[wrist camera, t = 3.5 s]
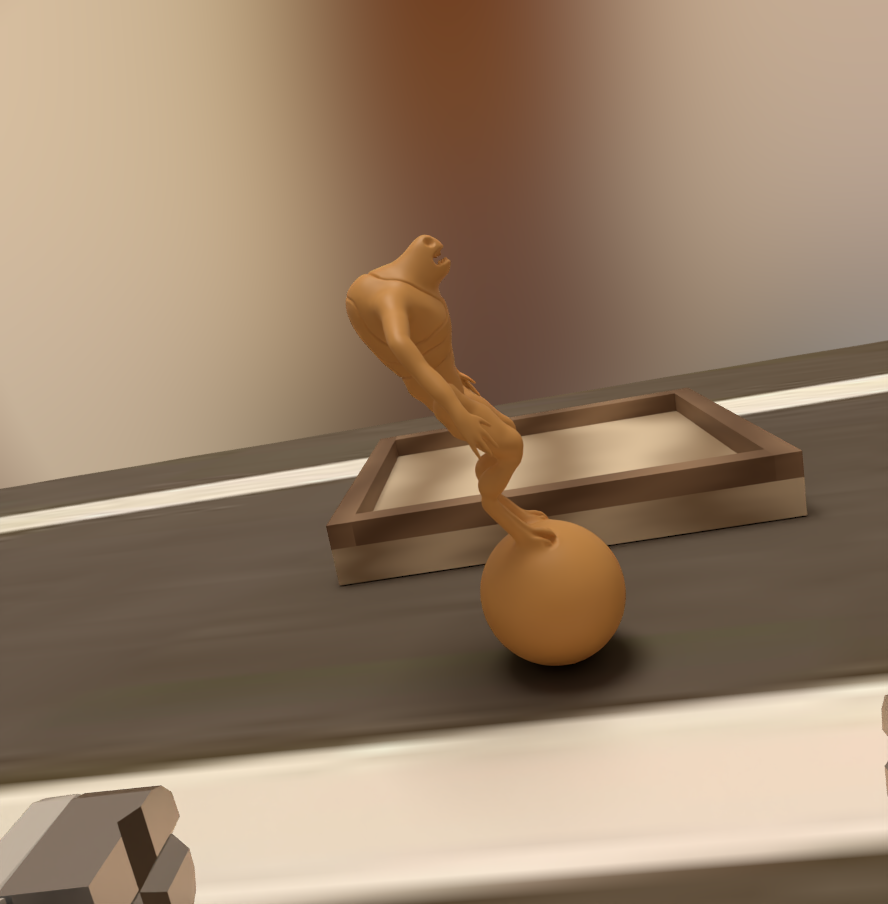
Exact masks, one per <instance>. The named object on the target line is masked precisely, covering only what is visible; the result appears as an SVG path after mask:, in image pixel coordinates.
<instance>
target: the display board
mask: <svg viewBox="0 0 888 904" xmlns="http://www.w3.org/2000/svg"><path fill="white" fill-rule="evenodd" d="M510 419H511V420H512V421H513V422H514V424H515V426H516V431H517V432H518V433H519V434H520V435H521V437H522V439H523V444H524V448H523V457H522V460H521V463H520V464H519V466H518V467H517V468H516V470H515V471H514V473H513V475H512V477H511V479H510V481H509V483H508V484H507V486H506V488H505V489H504V491H503V492H502V494H503V495H504V496H505V497H507V498H508V499H509V500H511V501H512V502H513V503H515V504H516V505H517V506H519V507H520V508H522V509H524V510H537V511H541V512H543V513H544V514H545V515H546V516H547V517H548V519H552V520H561V521H567V522H571V523H574V524H577V525H579V526H582V527H584V528H586V529H588V530H589V531H591V532H592V533H594V534H595V535H597V536H598V537H599V538H600V539H601V540H602V541H603V542H604V543H605V544H606V545H612V544H619V543H625V542H632V541H639V540H645V539H652V538H659V537H665V536H672V535H679V534H685V533H692V532H699V531H705V530H712V529H719V528H725V527H732V526H738V525H745V524H752V523H758V522H765V521H772V520H778V519H785V518H792V517H798V516H805V515H807V507H806V494H805V481H804V469H803V456H802V451H801V450H800V449H798V448H796V447H794V446H792V445H791V444H789V443H787V442H785V441H783V440H781V439H780V438H778V437H776V436H774V435H772V434H771V433H769V432H767V431H765V430H763V429H762V428H760V427H758V426H756V425H754V424H753V423H751V422H749V421H747V420H745V419H743V418H742V417H740V416H738V415H736V414H734V413H733V412H731V411H729V410H727V409H725V408H724V407H722V406H720V405H718V404H716V403H714V402H713V401H711V400H709V399H707V398H705V397H704V396H702V395H700V394H698V393H696V392H695V391H693V390H691V389H689V388H684V389H678V390H672V391H666V392H660V393H654V394H648V395H642V396H636V397H630V398H624V399H618V400H612V401H606V402H600V403H594V404H588V405H582V406H576V407H570V408H564V409H558V410H552V411H546V412H540V413H534V414H528V415H522V416H516V417H510ZM477 450H478V452H479V454H480V456H482V455H483V454H485V453H484V452H482V451H481V450H479V449H478V448H477ZM478 460H479V459H478V457H477V456H476V455H475V453H474V452H473V451H472V449H471V447H470V446H469V444H468V443H467V442H466V441H463V440H459V439H457V438H455V437H454V436H453V435H452V434H451V433H450V432H449V431H448V429H447V428H444V429H438V430H432V431H426V432H420V433H414V434H408V435H403V436H397V437H391V438H385V439H380V441H379V443H378V444H377V446H376V447H375V449H374V451H373V452H372V454H371V455H370V457H369V458H368V460H367V462H366V463H365V465H364V466H363V468H362V470H361V471H360V473H359V474H358V476H357V478H356V479H355V481H354V482H353V484H352V486H351V487H350V489H349V490H348V492H347V494H346V495H345V497H344V498H343V500H342V501H341V503H340V505H339V506H338V508H337V509H336V511H335V513H334V514H333V516H332V517H331V519H330V521H329V522H328V524H327V525H326V528H327V532H328V537H329V541H330V546H331V550H332V554H333V559H334V563H335V568H336V572H337V577H338V581H339V585H346V584H353V583H359V582H366V581H373V580H379V579H386V578H393V577H399V576H406V575H413V574H419V573H426V572H433V571H439V570H446V569H452V568H459V567H466V566H472V565H479V564H486V562H487V560H488V558H489V556H490V554H491V553H492V551H493V550H494V548H495V547H496V546H497V544H498V543H499V542H500V541H501V540H502V539H503V538H504V537H505V536H507V535H508V533H507V532H506V531H505V530H504V529H503V528H502V527H501V526H500V525H499V524H498V523H497V522H496V521H495V520H494V519H493V518H492V517H491V516H490V515H489V514H488V513H487V512H486V511H485V510H484V509H483V507H482V503H481V499H482V496H481V494H480V492H479V489H478V479H477V477H476V474H475V466H476V463H477V461H478Z"/></svg>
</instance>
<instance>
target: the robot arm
mask: <svg viewBox="0 0 888 904" xmlns="http://www.w3.org/2000/svg"><path fill="white" fill-rule="evenodd" d="M882 730H883V731H884V732H885V733H886V735H887V736H888V695H885V697H884V701H883V705H882ZM885 776H886V786H887V795H888V762H887V764H886V765H885ZM179 817H180V815H179V812H178V809H177V806H176V804H175V801H174V798H173V795H172V792H171V791H169V790H168V789H166V788H165V787H163V786H151V787H141V788H132V789H122V790H113V791H103V792H93V793H85V794H82V795H81V794H73V795H66V796H59V797H51V798H45V799H43V800H40V801H37V802H34V803H32V804H31V805H30V807H29V808H28V809H27V810H26V811H25V812H24V813H23V815H22V816H21V817H20V818H19V819H18V820H17V822H16V823H15V824H14V825H13V826H12V827H11V828H10V830H9V831H8V832H7V833H6V834H5V835H4V837H3V838H2V839H1V840H0V904H194V899H195V893H196V881H195V868H194V864H193V860H192V857H191V853H190V849H189V848H188V847H187V846H186V845H184V844H183V843H182V842H181V841H180V840H179V839H178V838H176V837H175V836H174V835H173V834H172V833H173V830H174V828H175V826H176V823H177V821H178V819H179Z"/></svg>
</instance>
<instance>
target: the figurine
mask: <svg viewBox="0 0 888 904" xmlns="http://www.w3.org/2000/svg"><path fill="white" fill-rule="evenodd" d="M442 248H443V245H442V244H441V243H440V242H439V241H438V240H437V239H435V238H433V237H431V236H428V235H421V236H419V237H418V238H417V239H415V241H413V242H412V244H411V245H410V246H409V247H408V248H407V250H406V251H405V252H404V253H403V254H402V255H401V256H400V257H399V258H397V259H396V260H395V261H394V262H392V263H390V264H387V265H384V266H382V267H379V268H377V269H375V270H372V271H370V272H369V274H363V275H361V276H360V277H359V278H357V279H356V280H355V281H354V283H353V284H352V285H351V287H350V288H349V290H348V292H347V298H346V309H347V314H348V317H349V319H350V322H351V324H352V326H353V328H354V329H355V331H356V333H357V334H358V335H359V337H360V338H361V339H362V341H363V342H364V343H365V344H366V345H367V347H368V348H369V349H370V350H371V351H372V352H373V353H374V354H375V355H376V356H377V357H378V358H379V359H380V361H381V362H382V363H383V364H384V365H385V366H387V367H388V368H389V369H390V370H391V371H393V372H394V373H396V374H397V375H398V376H399V377H402V380H403V381H404V383H405V385H406V387H407V389H408V391H409V393H410V394H411V395H412V396H413V397H414V398H416V399H417V400H419V401H421V402H423V403H424V404H425V405H426V406H427V407H428V408H429V409H430V410H431V411H432V412H434V414H435V416H436V418H437V419H438V420H439V421H440V422H441V423H442V424H443V425H444V426H445V427H446V428H447V429H448V431H449V432H450V433H451V434H452V435H453V436H454V437H455V438H457V439H459V440H463V441H466V442H467V443H468V444H469V446H470V447H471V449H472V451H473V452H474V453H475V455H476V456H477V457H478V459H479V460H478V461H477V463H476V466H475V474H476V477H477V479H478V489H479V492H480V494H481V496H482V499H481V503H482V507H483V509H484V510H485V511H486V512H487V513H488V514H489V515H490V516H491V517H492V518H493V519H494V520H495V521H496V522H497V523H498V524H499V525H500V526H501V527H502V528H503V529H504V530H505V531H506V532H507V533H508V535H507V536H505V537H504V538H503V539H502V540H501V541H500V542H499V543H498V544H497V546H496V547H495V548H494V550H493V551H492V553H491V554H490V556H489V558H488V560H487V562H486V564H485V567H484V570H483V574H482V579H481V589H480V593H481V603H482V608H483V612H484V615H485V618H486V620H487V623H488V625H489V626H490V628H491V630H492V632H493V633H494V635H495V636H496V637H497V638H498V640H499V641H500V642H501V643H502V644H503V645H504V646H505V647H506V648H507V649H509V650H510V651H511V652H513V653H514V654H516V655H517V656H519V657H521V658H523V659H525V660H527V661H530V662H533V663H536V664H541V665H547V666H563V665H569V664H573V663H577V662H580V661H582V660H585V659H587V658H589V657H590V656H592V655H594V654H595V653H596V652H598V651H599V650H600V649H601V648H603V647H604V646H605V645H606V644H607V643H608V641H609V640H610V639H611V638H612V636H613V635H614V633H615V632H616V630H617V628H618V626H619V624H620V622H621V619H622V616H623V612H624V608H625V599H626V590H625V582H624V577H623V573H622V570H621V568H620V565H619V563H618V561H617V559H616V557H615V556H614V554H613V552H612V551H611V550H610V548H609V547H608V546H607V545H606V544H605V543H604V542H603V541H602V540H601V539H600V538H599V537H598V536H597V535H595V534H594V533H592V532H591V531H589V530H588V529H586V528H584V527H582V526H579V525H577V524H574V523H571V522H567V521H561V520H552V519H548V517H547V516H546V515H545V514H544V513H543V512H541V511H537V510H524V509H522V508H520V507H519V506H517V505H516V504H515V503H513V502H512V501H511V500H509V499H508V498H507V497H505V496H504V495H503V494H502V492H503V491H504V489H505V488H506V486H507V484H508V483H509V481H510V479H511V477H512V475H513V473H514V471H515V470H516V468H517V467H518V466H519V464H520V463H521V460H522V457H523V448H524V444H523V439H522V437H521V435H520V434H519V433H518V432H517V431H516V426H515V424H514V422H513V421H512V420H511V419H510V418H508V417H507V416H505V415H503V414H501V413H500V412H499V411H497V410H496V409H495V408H494V407H493V406H492V405H491V404H490V403H489V402H488V401H486V400H485V399H484V398H482V397H480V394H479V393H478V392H477V390H476V389H475V388H474V387H473V385H472V384H471V383H470V382H472V383H475V381H474V380H472V379H471V378H470V377H469V376H467V375H465V374H463V373H461V372H459V371H458V370H457V368H456V367H455V362H454V354H453V349H452V345H451V343H452V342H451V340H452V335H451V333H452V328H451V320H450V315H449V311H448V308H447V305H446V302H445V300H444V299H443V298H442V297H441V296H440V292H439V284H440V282H441V281H442V280H443V278H444V277H445V276H446V275H447V274H448V273H449V270H450V265H451V261H450V260H448V259H447V258H446V257H445V258H444V259H443V260H441V262H440V260H439V261H438V264H435V263H434V261H433V258H436V257H437V256H439V255H441V253H440V251H441V249H442ZM469 381H470V382H469ZM470 390H472V391H473V392H474V393H476V394H477V395H476V394H474V393H472V392H471V391H470ZM477 448H478V449H479V450H481V451H482V452H484V453H485V454H483V455H482V456H480V454H479V452H478V450H477Z"/></svg>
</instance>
